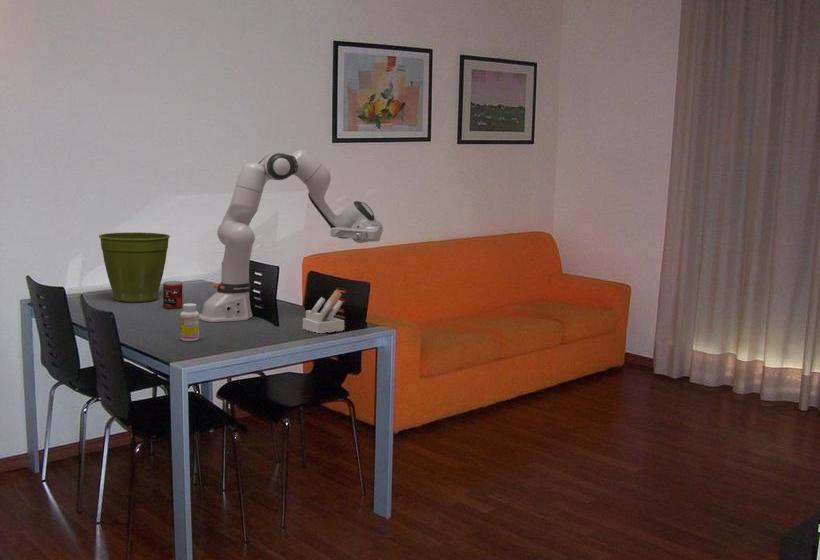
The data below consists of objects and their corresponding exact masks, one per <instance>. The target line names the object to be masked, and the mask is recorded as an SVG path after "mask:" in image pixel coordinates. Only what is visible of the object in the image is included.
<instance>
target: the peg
mask: <svg viewBox="0 0 820 560" xmlns="http://www.w3.org/2000/svg"><path fill="white" fill-rule="evenodd" d="M342 296H343V294H342V293H341V292H340V291H339V290H334V291H333V293H332V294H331V296H330V297H329V298H328V299H329V300H328V299H327V300H326V302H327V303H328V301H330V302H331V303H333V305H332V306H331V307H330V309H329V310H328V312H327V313H326V315H325V316H324V318H326V317H327V316H328V314H329V313H330V311H331V310H332V308H333V307H334V306H335V304H336V303H337V302H338V300H340V298H341V297H342ZM326 302H325V303H324V305H325V306H326V304H327V303H326ZM324 305H323V306H324ZM325 306H324V307H325ZM324 307H321V309H322V310H323V308H324ZM322 310H319V312H320V313H321V311H322Z"/></svg>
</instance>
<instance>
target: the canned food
mask: <svg viewBox="0 0 820 560" xmlns="http://www.w3.org/2000/svg"><path fill="white" fill-rule="evenodd" d="M162 289H163V290H162V291H163V292H162V293H163V295H162V296H163V299H162V300H163V302H162V303H163V308H164V309H165V310H180V309H183V282H182V281H178V280H168V281H163V283H162Z"/></svg>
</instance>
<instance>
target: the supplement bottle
mask: <svg viewBox="0 0 820 560" xmlns="http://www.w3.org/2000/svg"><path fill="white" fill-rule="evenodd" d="M182 309H183V311H181V312H180V314H179V338H180V340H181V341H182V342H194V341H199V339H200V319H199V314H200V313H199V311H198V310H197V304H196V303H191V302H190V303H184V304H183V303H182Z"/></svg>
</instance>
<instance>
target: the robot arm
mask: <svg viewBox="0 0 820 560" xmlns="http://www.w3.org/2000/svg"><path fill="white" fill-rule="evenodd" d="M293 175H294V176H296V177H297V178H298V179H299V180H300V182H302V183H303V184H305V186H306V188H307V190H308V194H307V195H308V199H309V201H310V202H311V204H312V205H313V206H314V208H315V209H316V210H317V212H318V213H319V214H320V216H321V217H322V218H323V219H324V220H325V222H326V224H328V226H329V227H330V236H331V237H332V238H339V239H341V240H342V239H343V240H345V239H352V240H353V242H355V243H357V244H363V243H370V242H375V243H377V242H378V243H379V242H381V236H382V235H383V231H384V228H383V227H384V226H383V224H382V223H381V222H380V221H379V220H377V219H376V218H375V214H374V212H373V210H372V208H371V207H370V206H369V205H368V204H366V203H365V202H363V201H359V200H358V201H357V200H355V201H353V202H352V203H351V204H350V205H349V206H348V207H347V208H346V209H345V210H343V212H341V213H340V214H339V215H336V214H335V213H334V212H333V210H332V209H331V208H330V207H329V204H327V202H326V200H325V197H326V194H327V191H328V188H329V186H330V184H331V180H332V179H331V177H332V175H331V173H330V171H329V169H328V168H327V167H326V166H325V165H324V164H323V163H322V162H321V161H320V160H319V159H318V158H316V157H315V156H314V155H312V154H311V153H310V152H308V151H307V150H304V149H297V150H296V151H294V152H293V153H291V155H290V154H286V153H282V152H273V153H269V154H267V155H265V156H264V157H263V158H262V159H261V160H260V161H259V162H253V161H252V162H247V163H246V164H244V166H243V167H242V169H241V171H240V173H239V175H238V177H237V180H236V183H235V187H234V190H233V193H232V197H231V201H230V203H229V205H228V208H227V210H226V212H225V215H224V216H223V219H222V221H221V224H220V225H219V226H218V228H217V234H216V235H217V237H218V239H219V241H220V242H221V244H223V246H224V254H223V257H222V258H223V259H222V261H221V281H220V283H217V282H214V283H213V284H212V288H213V289H217V290H216V292H215V293H214V294H212V296H210V297H209V298H207V300H205V301H204V303H203V305H202V312H201V313H199V321H200V320H201V321H204V322H209V323H210V322H211V323H217V322H218V323H219V322H233V321H235V322H237V321H248V320H249V319H250V318H252V317H253V312H252V308H251V301H250V293H251V283H250V262H251V261H250V260H251V255H252V252H253V251H252V250H253V245H254V242H255V239H256V238H255V237H256V236H255V233H254V231H253V229H252V228H251V227H250V224H251V222H252V221H253V218H254V216H256V214H257V212H258V209H259V205H260V202H261V199H262V195H263V192H264V188H265V186H266V183H267V182H269V180H273V181H283V180H286V179H288V178H290V177H292V176H293Z"/></svg>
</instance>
